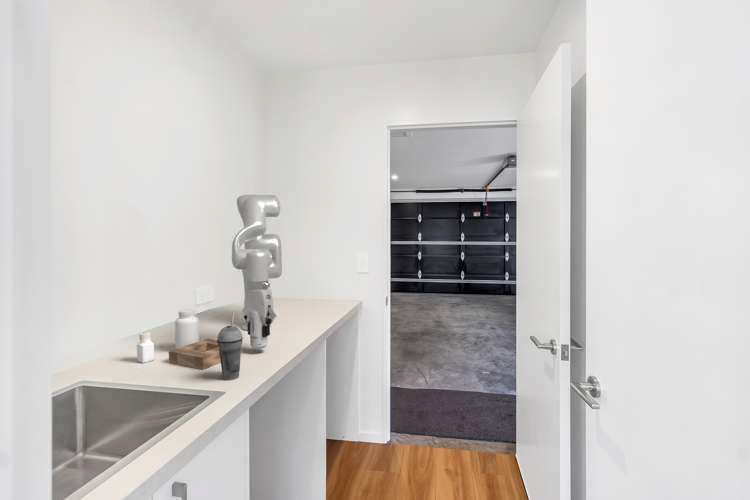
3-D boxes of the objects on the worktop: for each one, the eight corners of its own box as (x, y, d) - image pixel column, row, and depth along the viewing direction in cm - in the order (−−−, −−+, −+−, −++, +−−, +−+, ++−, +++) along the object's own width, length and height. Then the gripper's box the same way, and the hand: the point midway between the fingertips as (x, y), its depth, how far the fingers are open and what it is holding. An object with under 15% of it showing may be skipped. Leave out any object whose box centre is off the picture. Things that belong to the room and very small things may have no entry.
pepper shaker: (155, 360, 130) (154, 332, 130) (143, 363, 127) (142, 335, 126) (148, 358, 132) (147, 331, 132) (136, 361, 129) (135, 334, 128)
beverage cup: (217, 375, 116) (215, 310, 115) (243, 371, 119) (241, 308, 118) (218, 383, 110) (216, 315, 109) (244, 379, 112) (243, 312, 111)
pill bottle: (190, 354, 136) (188, 312, 136) (170, 353, 138) (169, 312, 137) (204, 347, 144) (203, 308, 143) (185, 346, 146) (184, 307, 145)
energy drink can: (247, 346, 138) (246, 306, 136) (262, 343, 142) (261, 303, 141) (255, 351, 133) (254, 308, 132) (270, 347, 137) (270, 306, 136)
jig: (208, 349, 142) (208, 338, 142) (240, 354, 135) (240, 343, 135) (169, 362, 128) (168, 351, 127) (203, 369, 121) (202, 357, 121)
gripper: (283, 285, 135) (284, 335, 137) (246, 282, 143) (248, 329, 144) (269, 289, 129) (270, 341, 130) (231, 285, 136) (233, 334, 137)
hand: (258, 334), depth 137 cm, fingers closed on energy drink can, 6 cm apart
